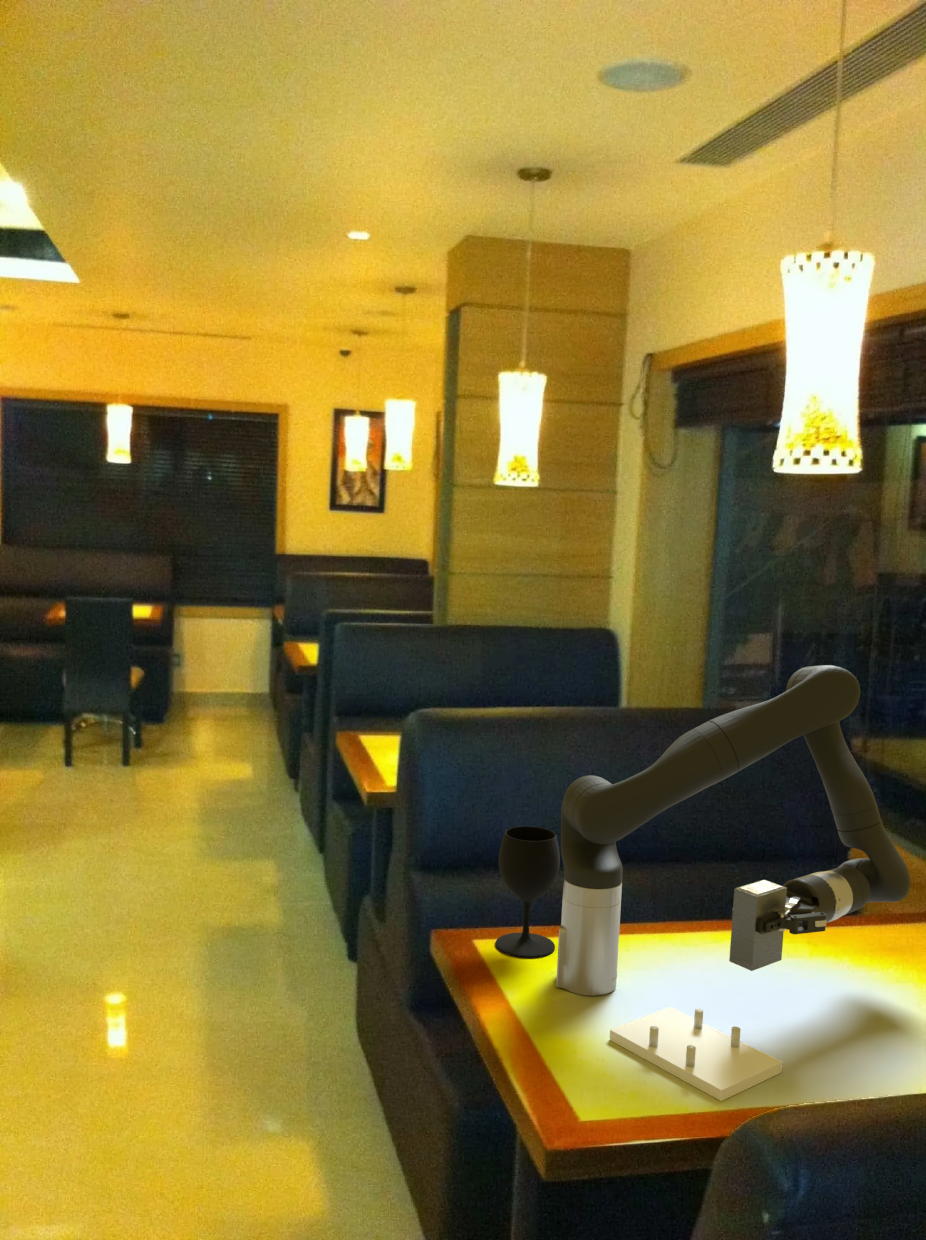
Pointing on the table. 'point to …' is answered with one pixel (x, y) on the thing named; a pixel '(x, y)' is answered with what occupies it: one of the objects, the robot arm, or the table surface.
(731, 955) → the grey rectangular block
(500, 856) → the wine glass
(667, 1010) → the peg board
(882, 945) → the table surface
